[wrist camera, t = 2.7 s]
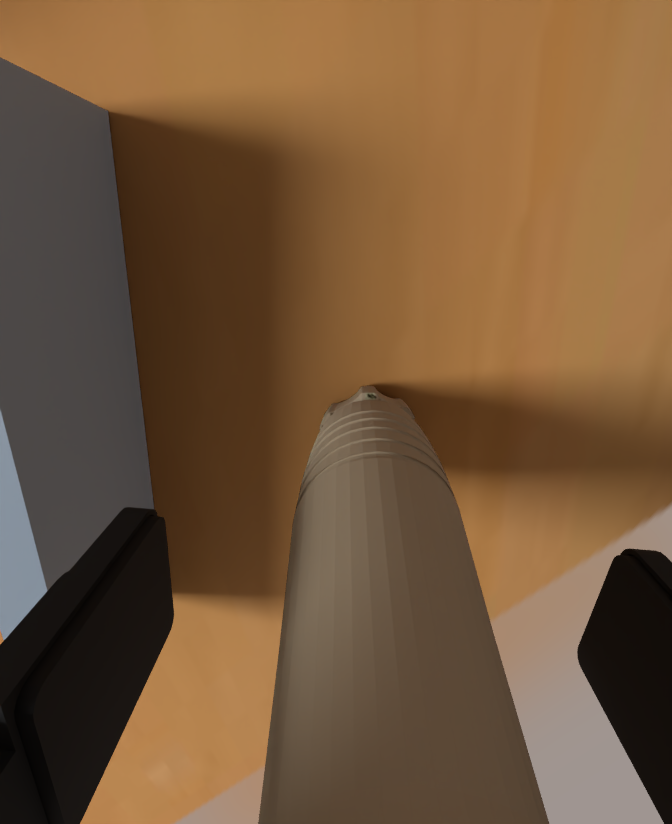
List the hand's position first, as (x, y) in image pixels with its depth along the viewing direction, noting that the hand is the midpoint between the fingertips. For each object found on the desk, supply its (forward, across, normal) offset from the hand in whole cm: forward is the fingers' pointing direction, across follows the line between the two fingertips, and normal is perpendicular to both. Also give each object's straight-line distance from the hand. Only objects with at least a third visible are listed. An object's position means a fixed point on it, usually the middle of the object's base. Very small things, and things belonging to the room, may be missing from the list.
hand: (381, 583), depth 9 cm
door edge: (+7, +9, 0) cm, 12 cm away
